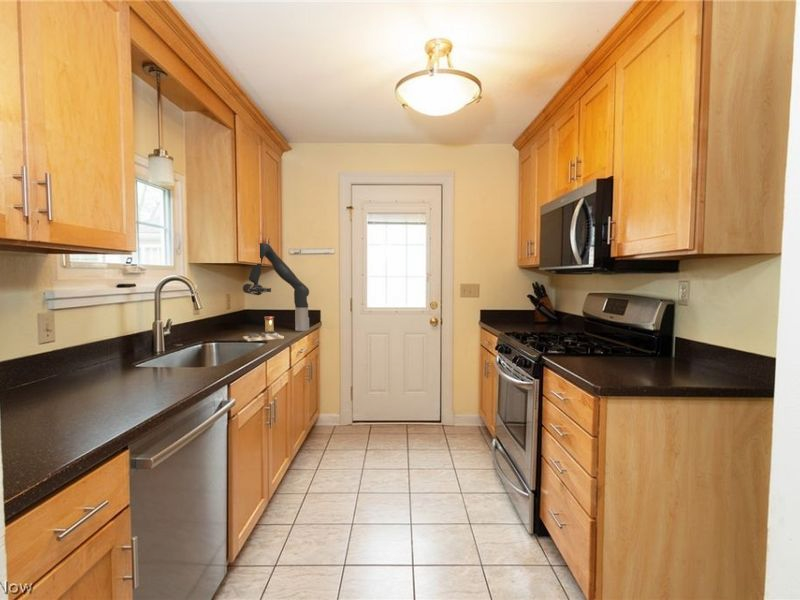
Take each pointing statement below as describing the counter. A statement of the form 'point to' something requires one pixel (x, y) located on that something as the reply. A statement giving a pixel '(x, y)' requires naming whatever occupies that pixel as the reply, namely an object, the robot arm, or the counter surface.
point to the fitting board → (262, 336)
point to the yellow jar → (269, 325)
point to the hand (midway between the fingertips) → (262, 290)
